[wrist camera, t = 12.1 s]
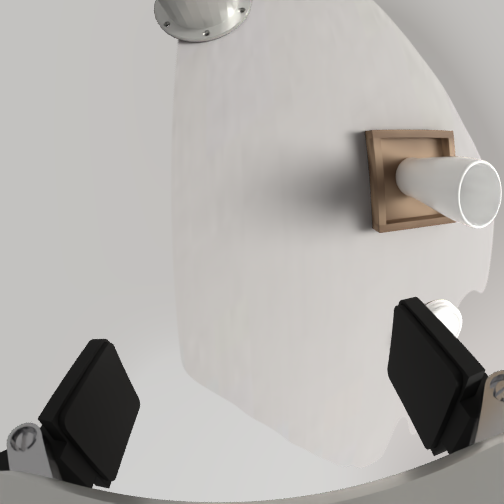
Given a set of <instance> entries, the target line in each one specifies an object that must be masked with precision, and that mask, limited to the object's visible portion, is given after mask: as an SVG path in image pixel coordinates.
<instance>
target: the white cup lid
mask: <svg viewBox="0 0 504 504" xmlns="http://www.w3.org/2000/svg"><path fill="white" fill-rule="evenodd" d="M426 306H427V307H428V308H429V309H430V311H431V312H432V313H433V314H434V315H435V316H436V317H437V318H438V319H439V320H440V321H441V322H442V323H443V324H444V325H445V326H446V327H447V328H448V329H449V330H450V331H451V332H452V333H453V334H454V336H455V337H456V338H457V337H458V335H459V333H460V330H461V327H462V316H461V314H460V311H459V310H458V309H457V308H456V307H455V306H454V305H452V304H451V303H450V302H449V301H447V300H443V299H439V300H434V301H432V302H430V303H428V304H426Z"/></svg>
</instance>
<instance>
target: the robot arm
mask: <svg viewBox="0 0 504 504" xmlns="http://www.w3.org/2000/svg"><path fill="white" fill-rule="evenodd" d="M251 3H252V0H156V1H155V6H154V13H155V18H156V20H157V22H158V24H159V25H160V27H161V28H162V29H163V30H164V31H165V32H166V33H167V34H169V35H171V36H173V37H174V38H177V39H180V40H183V41H190V42H202V41H209V40H213V39H217V38H220V37H222V36H224V35H226V34H229V33H230V32H232V31H233V30H235V29H236V28H237V27H238V26H239V25H240V24H242V23H243V21H244V20H245V19H246V17H247V16H248V13H249V11H250V8H251ZM240 12H244V13H240ZM168 25H169V26H168ZM167 26H168V27H167ZM206 34H209V35H208V36H205V35H206ZM388 376H389V379H390V381H391V383H392V384H393V386H394V388H395V390H396V392H397V394H398V396H399V397H400V399H401V401H402V403H403V405H404V407H405V409H406V411H407V413H408V415H409V417H410V419H411V421H412V423H413V425H414V426H415V428H416V430H417V432H418V434H419V436H420V439H421V440H422V442H423V444H424V446H425V448H426V449H431V451H432V453H433V455H434V456H435V455H438V454H440V453H442V452H445V451H448V453H449V455H447V456H445V457H442V458H440V459H438V460H435V461H432V462H430V463H427V464H425V465H422V466H419V467H416V468H414V469H411V470H408V471H405V472H402V473H399V474H396V475H393V476H389V477H386V478H383V479H379V480H376V481H373V482H369V483H365V484H361V485H357V486H353V487H349V488H345V489H340V490H336V491H330V492H325V493H320V494H314V495H307V496H301V497H294V498H286V499H277V500H266V501H252V502H226V503H225V502H223V503H220V502H219V503H218V502H215V503H212V502H209V503H208V502H185V501H170V500H158V499H150V498H142V497H135V496H129V495H123V494H117V493H112V492H107V491H102V490H97V489H92V486H93V484H95V485H96V486H101V487H105V488H109V487H110V484H111V481H114V480H115V478H116V476H117V473H118V469H119V467H120V464H121V460H122V458H123V455H124V452H125V449H126V445H127V443H128V440H129V437H130V434H131V431H132V428H133V425H134V422H135V420H136V417H137V414H138V411H139V408H140V401H139V398H138V396H137V394H136V392H135V390H134V388H133V386H132V384H131V382H130V380H129V378H128V376H127V373H126V371H125V369H124V367H123V365H122V363H121V361H120V358H119V356H118V354H117V351H116V349H115V347H114V345H113V344H112V343H110V342H109V341H108V340H107V339H92V340H90V341H89V343H88V344H87V345H86V347H85V349H84V350H83V351H82V352H81V354H80V355H79V357H78V358H77V360H76V361H75V363H74V364H73V365H72V367H71V368H70V370H69V371H68V373H67V374H66V376H65V377H64V379H63V380H62V382H61V383H60V385H59V386H58V388H57V389H56V391H55V392H54V394H53V395H52V397H51V398H50V400H49V402H48V403H47V405H46V406H45V408H44V409H43V411H42V413H41V414H40V416H39V418H38V420H39V421H40V422H41V424H42V426H41V428H39V427H38V426H37V425H36V424H33V423H24V424H21V425H19V426H17V427H16V428H15V429H13V430H12V432H11V433H10V435H9V436H8V439H7V450H5V451H3V452H0V504H504V370H501V371H497V372H494V373H493V374H491V375H490V376H489V377H488V376H487V374H486V373H485V369H484V368H483V367H482V365H481V364H480V363H479V362H478V361H477V360H476V359H475V357H473V356H472V354H471V353H470V352H469V351H468V350H467V349H466V347H464V345H463V344H462V343H461V342H460V341H459V340H458V339H457V338H456V337H455V336H454V334H453V333H452V332H451V331H450V330H449V329H448V328H447V327H446V326H445V325H444V324H443V323H442V322H441V321H440V320H439V319H438V318H437V317H436V316H435V315H434V314H433V313H432V312H431V311H430V309H429V308H428V307H427V306H426V305H425V304H424V303H423V302H422V301H421V300H420V299H419V298H417V297H413V298H409V299H404V300H401V301H400V302H399V305H398V306H395V308H394V318H393V328H392V338H391V346H390V354H389V362H388Z"/></svg>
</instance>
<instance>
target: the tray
mask: <svg viewBox="0 0 504 504" xmlns="http://www.w3.org/2000/svg"><path fill="white" fill-rule="evenodd" d="M365 136H366V145H367V154H368V165H369V176H370V190H371V206H372V228H373V229H375V230H376V231H377V232H379V233H383V232H390V231H397V230H404V229H412V228H419V227H426V226H433V225H440V224H448V223H455V222H456V221H454V220H452V219H450V218H448V217H446V216H444V215H442V214H441V213H439V212H437V211H435V210H434V209H432V208H430V207H429V206H427V205H425V204H423V203H422V202H420V201H418V200H416V199H414V198H412V197H409V196H407V195H405V194H404V193H402V192H401V191H400V189H399V188H398V186H397V183H396V170H397V168H398V166H399V164H400V163H401V162H402V161H403V160H404V159H406V158H410V157H415V158H427V157H448V156H455V146H454V135H453V131H443V130H370V131H365Z"/></svg>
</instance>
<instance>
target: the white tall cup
mask: <svg viewBox="0 0 504 504" xmlns="http://www.w3.org/2000/svg"><path fill="white" fill-rule="evenodd" d="M396 183H397V186H398V188H399V189H400V191H401V192H402V193H404V194H405V195H407V196H409V197H412V198H414V199H416V200H418V201H420V202H422V203H423V204H425V205H427V206H429V207H430V208H432V209H434V210H435V211H437V212H439V213H441V214H442V215H444V216H446V217H448V218H450V219H452V220H454V221H456V222H459V223H461V224H464V225H466V226H469V227H472V228H483V227H485V226H487V225H488V224H489V223H490V222H491V221H492V220H493V219H494V218H495V216H496V214H497V212H498V210H499V207H500V202H501V183H500V179H499V176H498V174H497V172H496V170H495V169H494V167H493V166H492V165H491V164H490V163H488V162H486V161H483V160H479V159H474V158H469V157H459V156H448V157H427V158H415V157H410V158H406V159H404V160H403V161H402V162H401V163H400V164H399V166H398V168H397V170H396Z"/></svg>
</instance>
